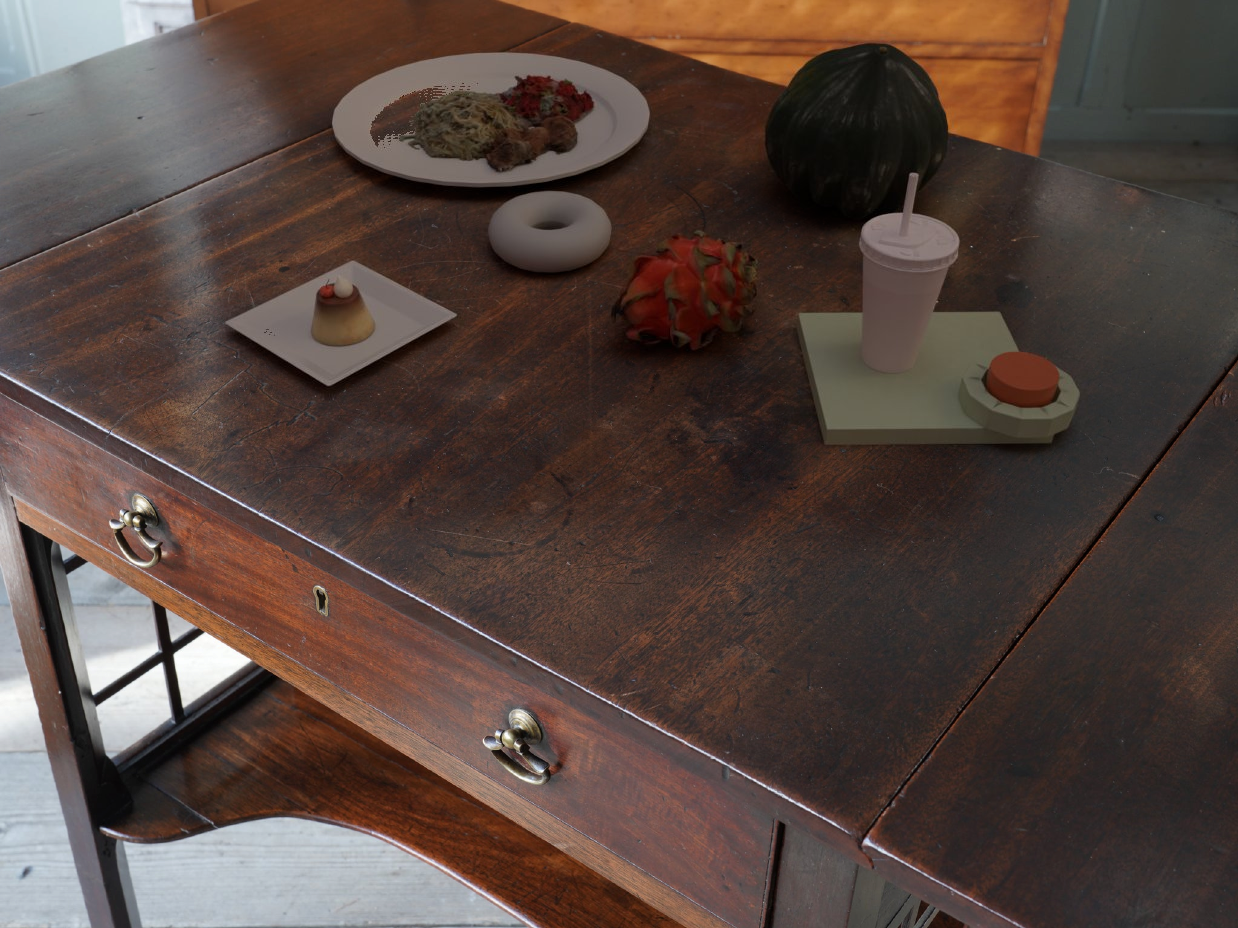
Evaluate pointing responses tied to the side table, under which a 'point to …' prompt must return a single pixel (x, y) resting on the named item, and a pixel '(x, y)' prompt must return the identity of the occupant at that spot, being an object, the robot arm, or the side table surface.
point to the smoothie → (902, 282)
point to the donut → (549, 231)
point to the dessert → (340, 321)
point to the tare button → (1022, 379)
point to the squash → (857, 129)
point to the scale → (922, 386)
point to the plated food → (496, 120)
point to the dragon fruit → (687, 291)
